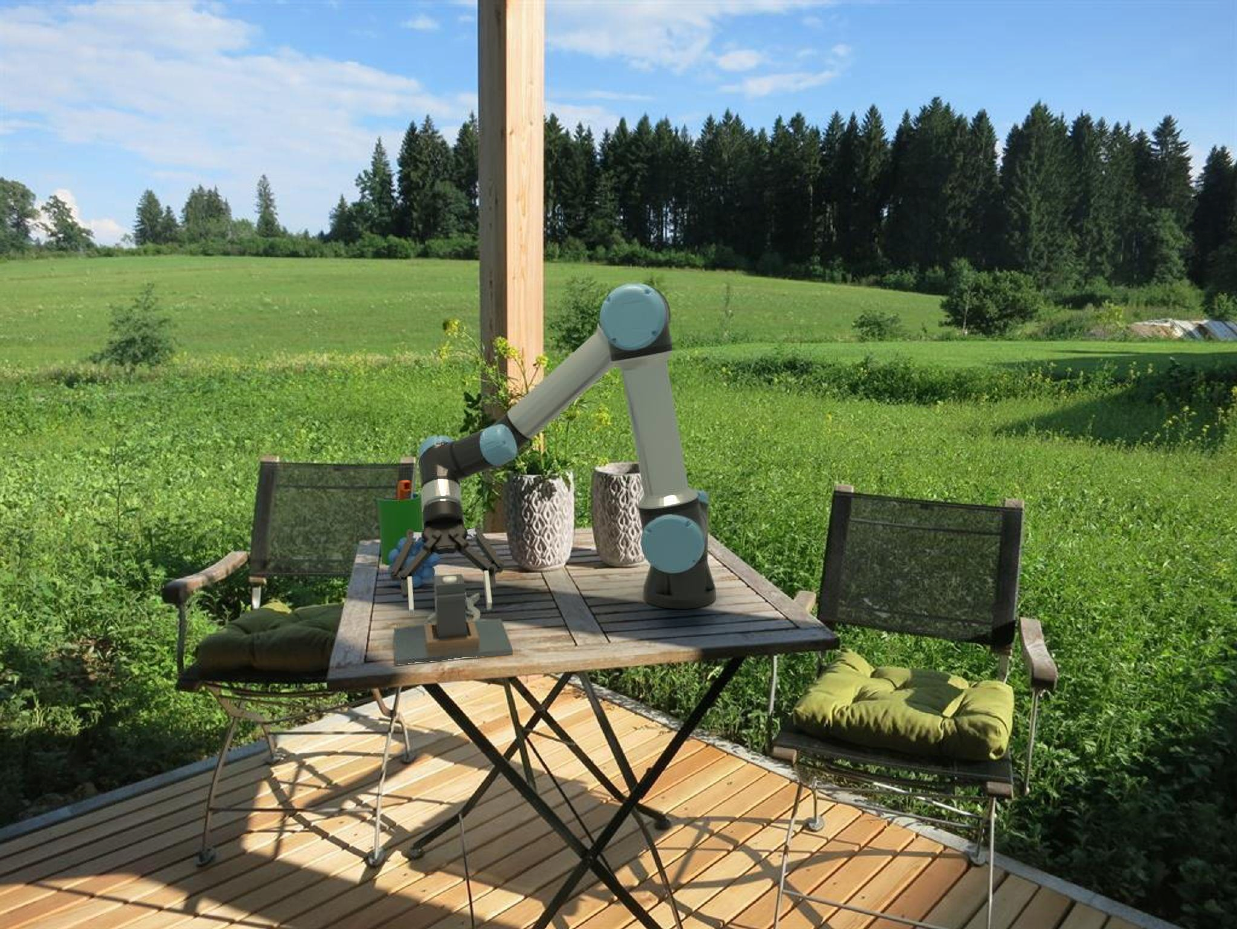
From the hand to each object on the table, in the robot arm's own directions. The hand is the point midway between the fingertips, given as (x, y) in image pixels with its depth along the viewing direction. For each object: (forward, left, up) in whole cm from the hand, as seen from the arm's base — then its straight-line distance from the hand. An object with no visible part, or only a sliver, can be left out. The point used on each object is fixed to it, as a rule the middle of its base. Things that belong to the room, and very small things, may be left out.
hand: (450, 609), depth 158 cm
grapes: (+5, -39, -7) cm, 40 cm away
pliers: (-3, -21, -8) cm, 22 cm away
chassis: (0, -2, -7) cm, 8 cm away
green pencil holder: (+7, -61, -7) cm, 62 cm away
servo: (0, -2, -6) cm, 7 cm away
